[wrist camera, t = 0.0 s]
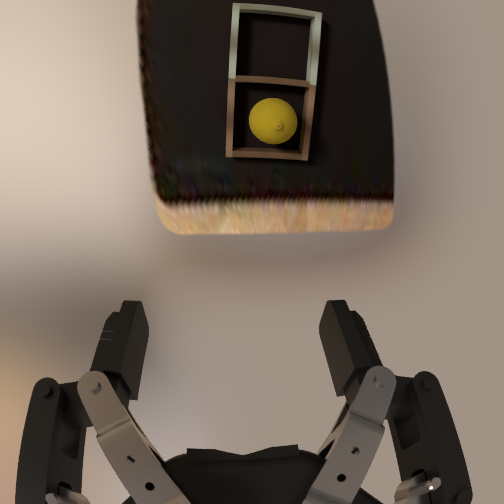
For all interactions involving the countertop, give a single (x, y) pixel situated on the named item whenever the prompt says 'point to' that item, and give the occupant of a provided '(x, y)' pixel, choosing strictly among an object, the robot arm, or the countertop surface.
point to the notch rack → (275, 82)
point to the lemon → (273, 121)
